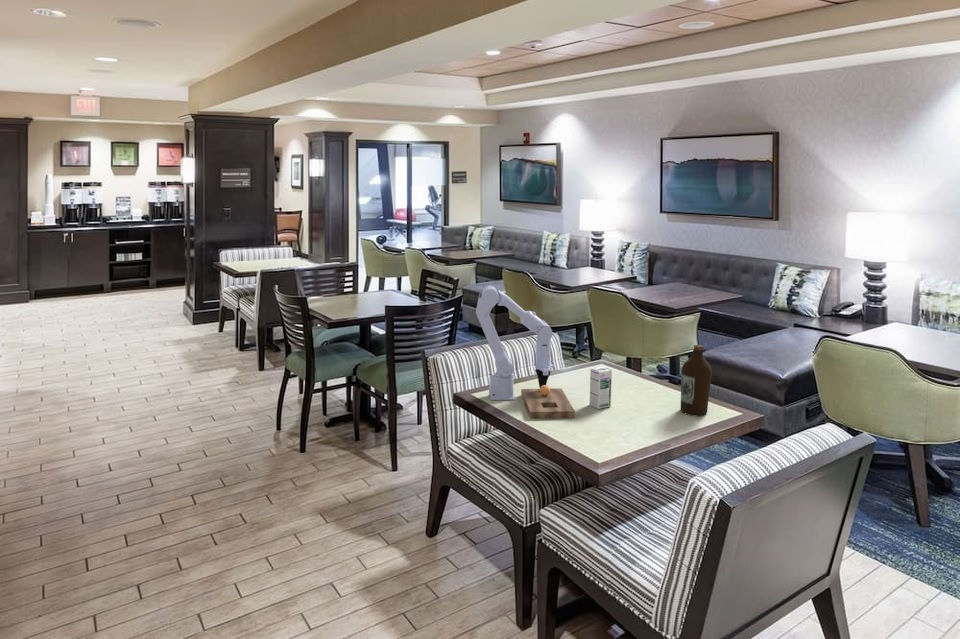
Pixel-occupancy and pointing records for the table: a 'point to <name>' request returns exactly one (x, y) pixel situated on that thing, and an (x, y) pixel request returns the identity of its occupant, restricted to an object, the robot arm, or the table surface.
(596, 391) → the syrup box
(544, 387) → the ball
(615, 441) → the table surface
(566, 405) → the brown wooden flat board
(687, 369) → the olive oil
